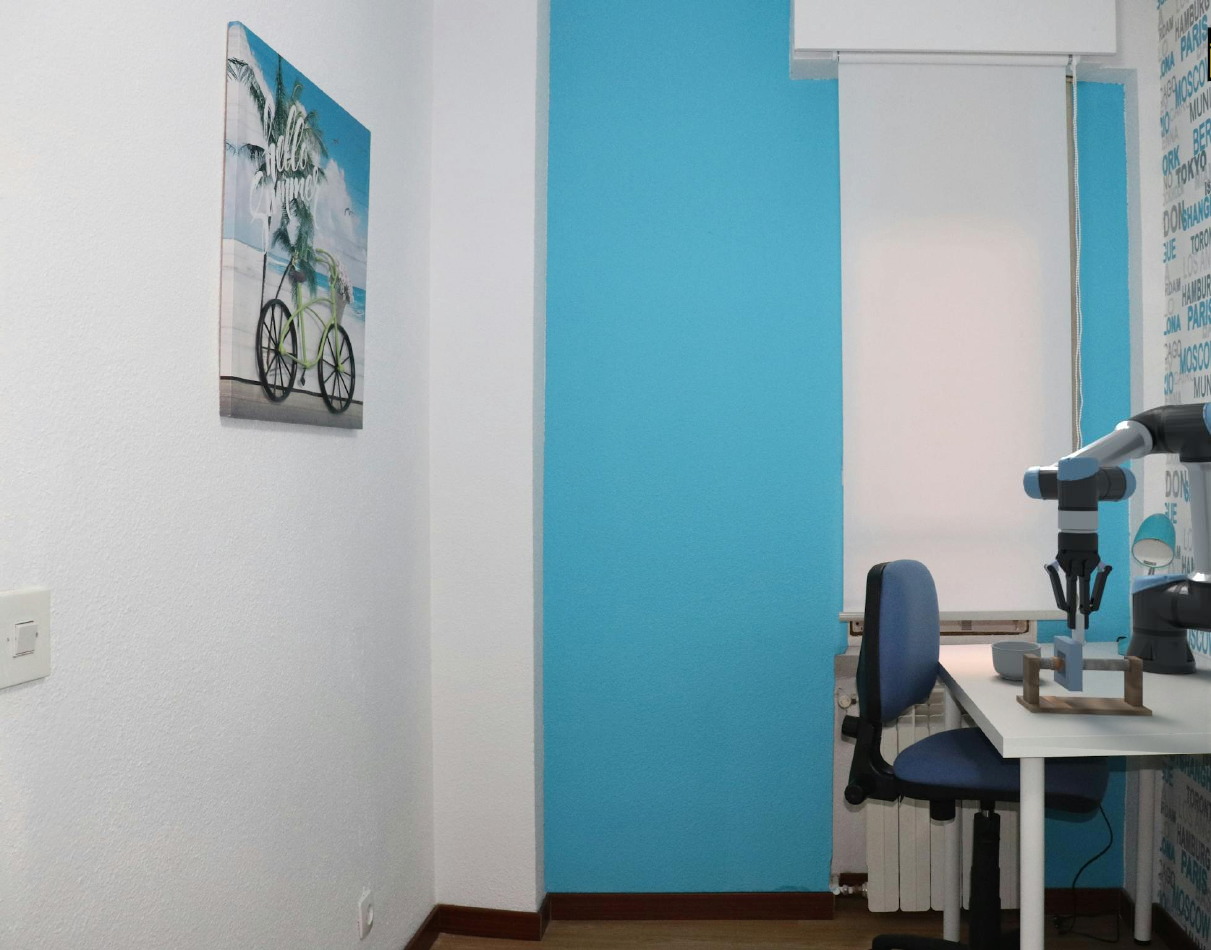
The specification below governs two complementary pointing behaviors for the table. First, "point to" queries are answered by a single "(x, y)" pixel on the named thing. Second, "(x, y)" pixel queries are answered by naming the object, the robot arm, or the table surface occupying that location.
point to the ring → (1069, 663)
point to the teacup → (1012, 657)
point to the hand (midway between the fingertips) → (1078, 644)
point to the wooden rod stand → (1084, 705)
